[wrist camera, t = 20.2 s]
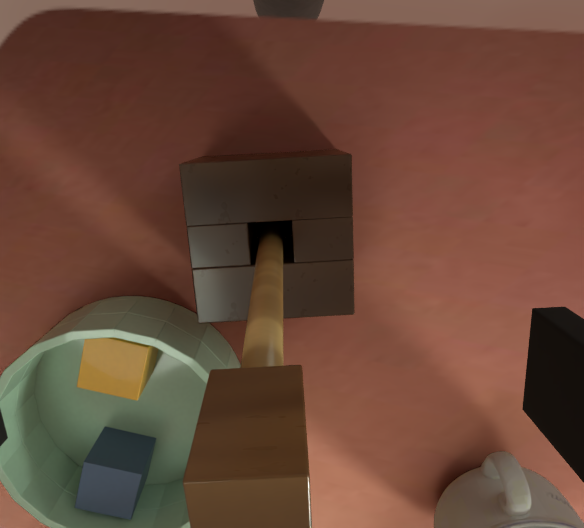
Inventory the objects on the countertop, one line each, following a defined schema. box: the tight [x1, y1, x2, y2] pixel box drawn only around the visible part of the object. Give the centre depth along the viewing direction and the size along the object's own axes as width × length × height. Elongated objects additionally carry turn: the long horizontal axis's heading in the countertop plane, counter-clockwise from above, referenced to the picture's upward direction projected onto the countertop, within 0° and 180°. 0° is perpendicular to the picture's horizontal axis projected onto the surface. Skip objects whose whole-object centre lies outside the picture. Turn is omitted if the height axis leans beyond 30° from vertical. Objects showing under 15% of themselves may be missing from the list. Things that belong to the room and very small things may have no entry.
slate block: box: [75, 426, 156, 520], centre depth 34 cm, size 4×4×4 cm
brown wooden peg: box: [182, 221, 312, 528], centre depth 21 cm, size 3×3×24 cm
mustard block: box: [77, 338, 158, 401], centre depth 32 cm, size 4×4×4 cm
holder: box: [179, 149, 354, 323], centre depth 29 cm, size 9×9×7 cm
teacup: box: [434, 451, 584, 528], centre depth 35 cm, size 14×11×8 cm
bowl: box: [0, 296, 241, 528], centre depth 33 cm, size 16×16×6 cm
